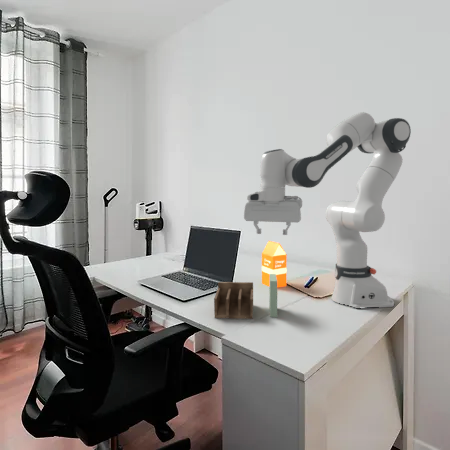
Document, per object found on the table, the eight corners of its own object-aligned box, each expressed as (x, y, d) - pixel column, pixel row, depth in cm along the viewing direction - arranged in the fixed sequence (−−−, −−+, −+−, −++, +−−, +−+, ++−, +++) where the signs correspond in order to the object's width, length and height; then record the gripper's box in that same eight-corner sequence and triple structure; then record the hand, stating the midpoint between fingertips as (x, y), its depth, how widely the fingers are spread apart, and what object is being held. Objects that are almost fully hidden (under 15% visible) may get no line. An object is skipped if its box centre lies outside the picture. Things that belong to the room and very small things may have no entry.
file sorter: (253, 304, 127) (253, 282, 126) (252, 318, 114) (252, 293, 113) (218, 304, 128) (218, 282, 127) (214, 318, 116) (213, 293, 114)
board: (275, 307, 124) (275, 273, 123) (277, 317, 115) (277, 281, 114) (269, 307, 125) (269, 273, 123) (270, 316, 116) (270, 281, 114)
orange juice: (272, 288, 146) (272, 244, 144) (261, 283, 154) (261, 241, 151) (286, 285, 150) (287, 242, 147) (275, 280, 158) (275, 239, 155)
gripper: (302, 195, 117) (301, 234, 119) (246, 195, 123) (246, 231, 125) (301, 196, 111) (300, 236, 113) (242, 195, 117) (242, 234, 119)
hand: (271, 234), depth 119 cm, fingers open, 8 cm apart
